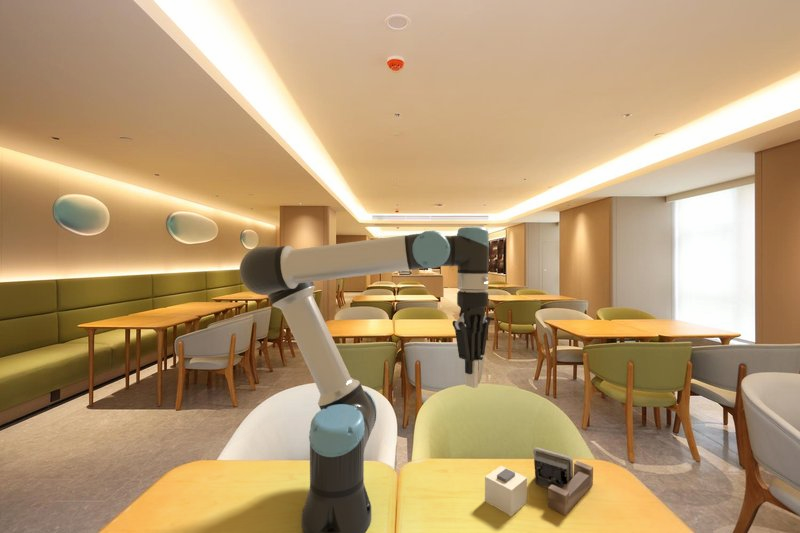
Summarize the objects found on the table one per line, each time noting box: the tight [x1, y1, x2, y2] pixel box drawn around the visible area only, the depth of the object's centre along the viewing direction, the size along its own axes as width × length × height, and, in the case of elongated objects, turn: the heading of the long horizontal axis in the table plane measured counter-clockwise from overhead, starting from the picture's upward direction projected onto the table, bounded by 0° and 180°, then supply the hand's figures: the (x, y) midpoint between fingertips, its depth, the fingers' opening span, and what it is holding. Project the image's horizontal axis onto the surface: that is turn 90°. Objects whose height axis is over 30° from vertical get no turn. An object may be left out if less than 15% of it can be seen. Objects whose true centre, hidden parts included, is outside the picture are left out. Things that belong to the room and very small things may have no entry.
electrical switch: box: [532, 446, 574, 489], centre depth 93 cm, size 9×5×9 cm, turn 56°
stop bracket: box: [547, 460, 594, 516], centre depth 90 cm, size 4×17×4 cm, turn 133°
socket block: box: [484, 465, 528, 517], centre depth 88 cm, size 7×7×7 cm
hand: (471, 385), depth 91 cm, fingers closed
